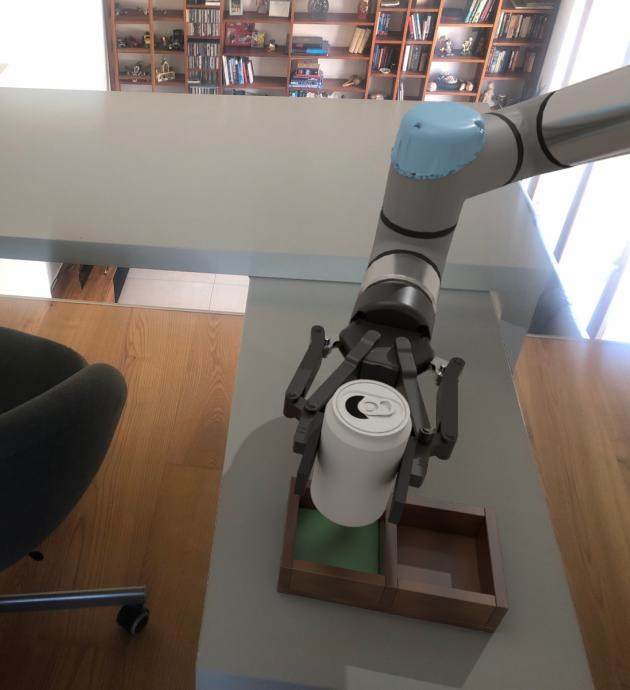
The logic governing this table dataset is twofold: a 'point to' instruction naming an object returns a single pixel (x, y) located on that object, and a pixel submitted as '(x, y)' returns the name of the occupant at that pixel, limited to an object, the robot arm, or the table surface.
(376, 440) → the beverage can
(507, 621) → the table surface
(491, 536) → the wooden compartment tray
